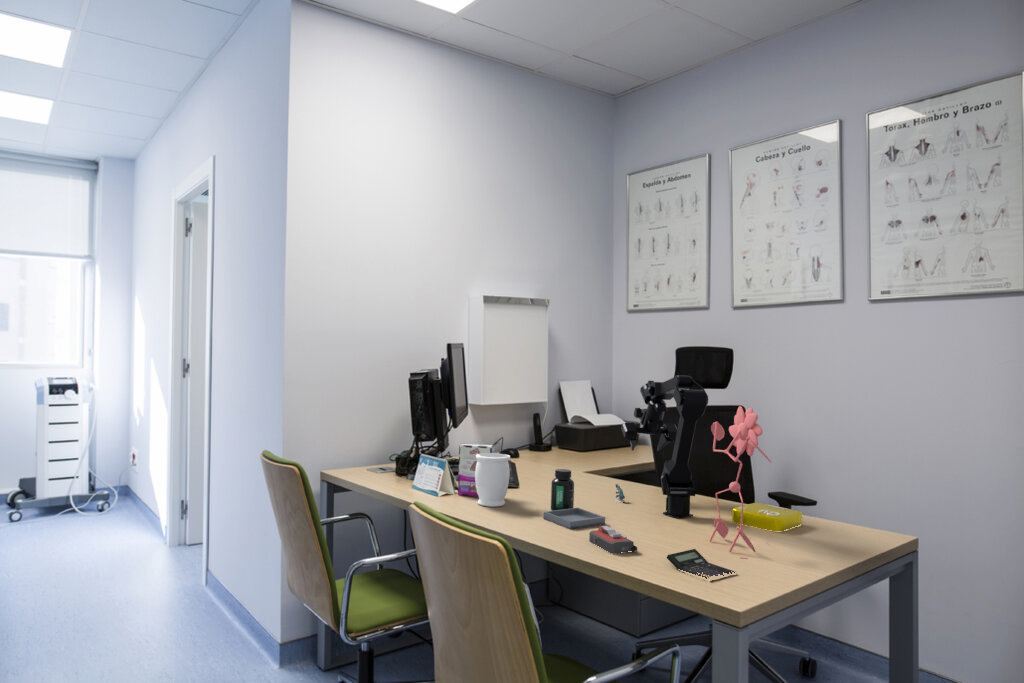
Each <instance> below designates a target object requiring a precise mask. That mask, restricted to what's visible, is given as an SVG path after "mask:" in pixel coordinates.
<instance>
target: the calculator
mask: <svg viewBox="0 0 1024 683" xmlns="http://www.w3.org/2000/svg"><path fill="white" fill-rule="evenodd" d="M705 558H706V557H704V556H703V555H702V554H701V553H700V552H699V551H698V550H697V549H696V548H693V549H692V548H691V549H688V550H684V551H679V552H675V553H670V554H668V555H667V556H666V560H668V561H669V562H670V563H671V564H672V565H673V567H675V568H676V570H678V569H680V570H683V571H686V572H689V573H692V574H695V575H696V574H697V575H698V573H700V574H699V575H698V576H701V574H702V572H703V574H702V577H705V578H706V579H707V577H708V578H709V577H711V576H713V575H715V576H718V574H720V575H723V572H724V573H727V574H729V572H730V573H731V574H732V572H734V571H735V570H731V569H729V568H726V567H723V566H719V565H716V564H714V563H712V562H711V563H710V562H708V560H707V559H705ZM731 571H732V572H731ZM697 572H698V573H697ZM735 572H736V571H735ZM735 572H734V573H735ZM703 575H705V576H703ZM708 575H709V576H708ZM706 576H707V577H706ZM723 576H724V575H723Z"/></svg>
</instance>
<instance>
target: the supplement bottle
mask: <svg viewBox="0 0 1024 683" xmlns="http://www.w3.org/2000/svg"><path fill="white" fill-rule="evenodd" d="M554 477H555V478H553V479H552V480H551V484H550V485H551V486H550V511H554V510H562V509H570V508H575V507H574V504H575V500H574V499H575V482H574V480H573V479H572V470H571V469H565V468H556V469H555V472H554Z"/></svg>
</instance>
